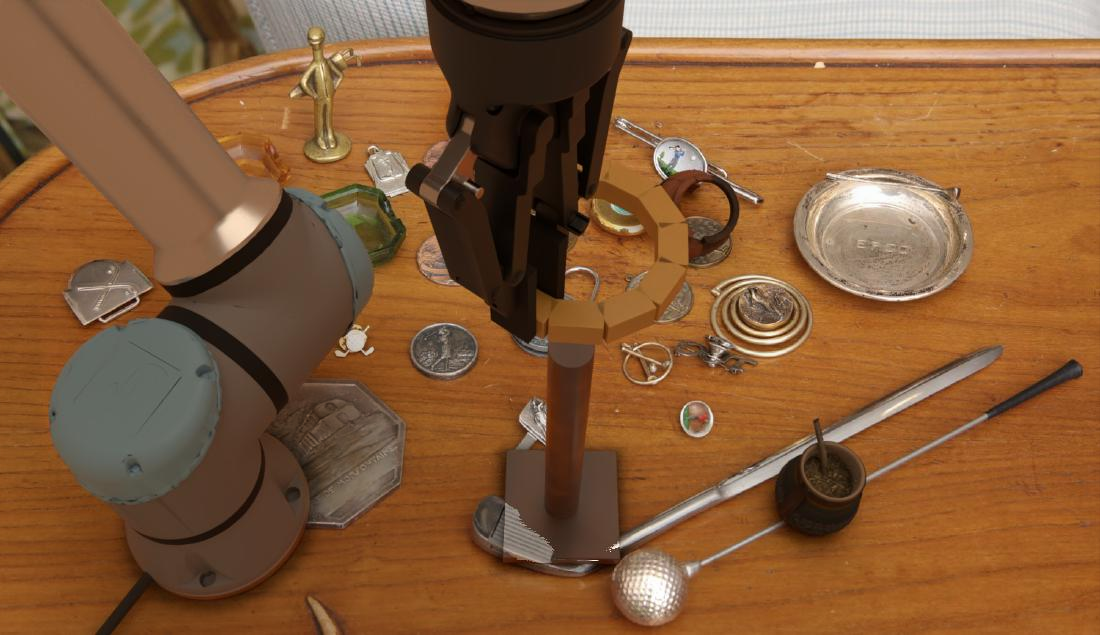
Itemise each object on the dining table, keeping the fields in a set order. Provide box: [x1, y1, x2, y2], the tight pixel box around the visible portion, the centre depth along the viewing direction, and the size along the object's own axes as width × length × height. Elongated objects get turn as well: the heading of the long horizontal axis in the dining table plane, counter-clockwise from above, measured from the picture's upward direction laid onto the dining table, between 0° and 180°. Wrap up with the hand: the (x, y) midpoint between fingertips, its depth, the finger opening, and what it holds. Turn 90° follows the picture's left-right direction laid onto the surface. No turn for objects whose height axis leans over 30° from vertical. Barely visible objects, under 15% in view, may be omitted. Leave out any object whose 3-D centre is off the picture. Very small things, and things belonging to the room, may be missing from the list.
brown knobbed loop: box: [657, 169, 741, 260], centre depth 97 cm, size 12×10×8 cm
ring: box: [535, 159, 690, 346], centre depth 55 cm, size 13×13×2 cm
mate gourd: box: [774, 417, 868, 538], centre depth 78 cm, size 7×8×10 cm
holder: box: [502, 342, 621, 565], centre depth 70 cm, size 10×10×28 cm
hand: (527, 311), depth 53 cm, fingers closed on ring, 2 cm apart
